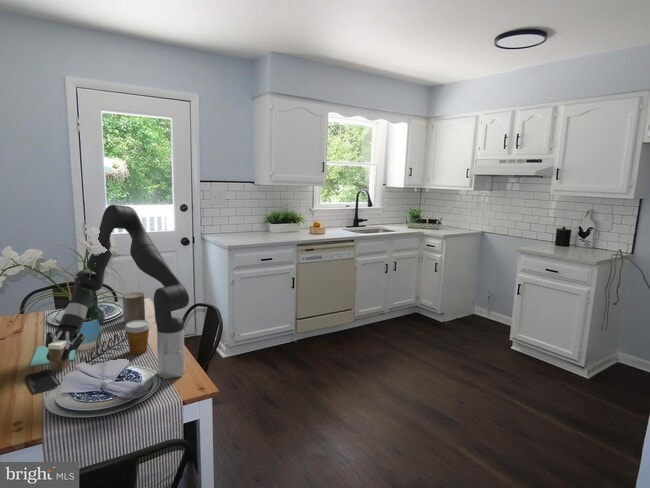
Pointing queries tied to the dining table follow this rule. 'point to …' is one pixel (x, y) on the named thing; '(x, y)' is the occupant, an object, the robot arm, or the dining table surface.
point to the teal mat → (41, 355)
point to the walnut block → (57, 355)
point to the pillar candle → (133, 307)
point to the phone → (42, 381)
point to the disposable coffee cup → (137, 336)
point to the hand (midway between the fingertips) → (56, 359)
